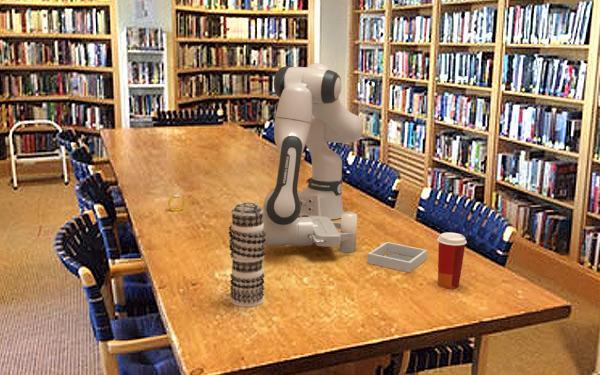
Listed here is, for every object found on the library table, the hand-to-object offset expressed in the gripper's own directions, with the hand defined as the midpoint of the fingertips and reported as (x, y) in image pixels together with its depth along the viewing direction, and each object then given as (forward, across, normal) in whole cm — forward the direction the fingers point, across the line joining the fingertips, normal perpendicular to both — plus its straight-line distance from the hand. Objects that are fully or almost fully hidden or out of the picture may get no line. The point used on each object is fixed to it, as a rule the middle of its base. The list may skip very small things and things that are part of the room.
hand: (349, 230), depth 196 cm
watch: (-56, +50, +7) cm, 75 cm away
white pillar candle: (0, 0, +6) cm, 7 cm away
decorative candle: (-34, -36, +6) cm, 50 cm away
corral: (+13, -11, +6) cm, 18 cm away
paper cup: (+22, -30, +7) cm, 38 cm away
